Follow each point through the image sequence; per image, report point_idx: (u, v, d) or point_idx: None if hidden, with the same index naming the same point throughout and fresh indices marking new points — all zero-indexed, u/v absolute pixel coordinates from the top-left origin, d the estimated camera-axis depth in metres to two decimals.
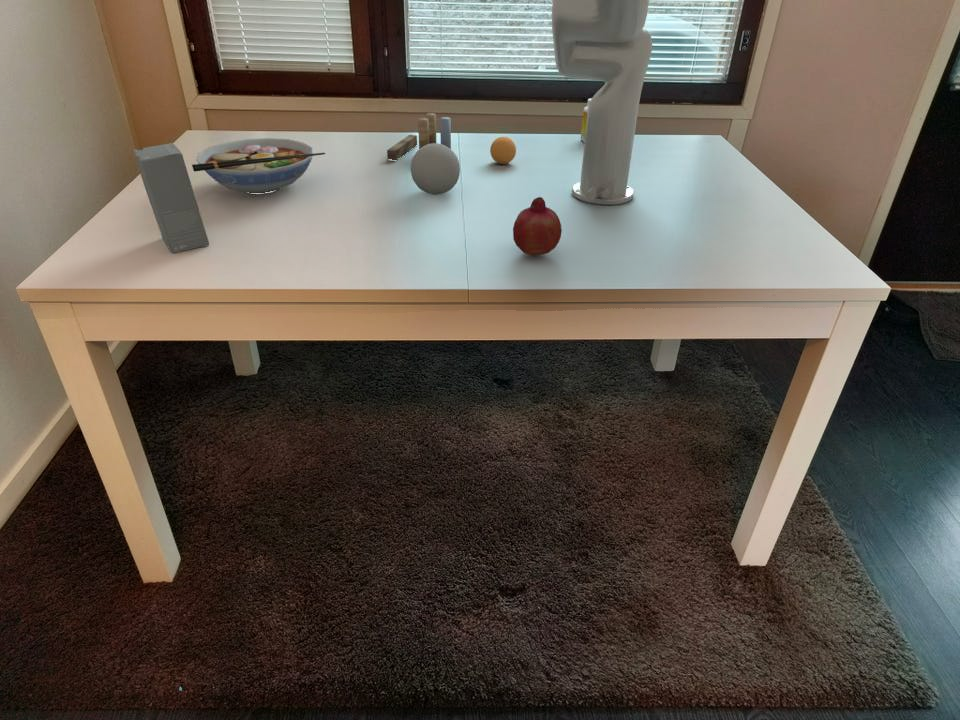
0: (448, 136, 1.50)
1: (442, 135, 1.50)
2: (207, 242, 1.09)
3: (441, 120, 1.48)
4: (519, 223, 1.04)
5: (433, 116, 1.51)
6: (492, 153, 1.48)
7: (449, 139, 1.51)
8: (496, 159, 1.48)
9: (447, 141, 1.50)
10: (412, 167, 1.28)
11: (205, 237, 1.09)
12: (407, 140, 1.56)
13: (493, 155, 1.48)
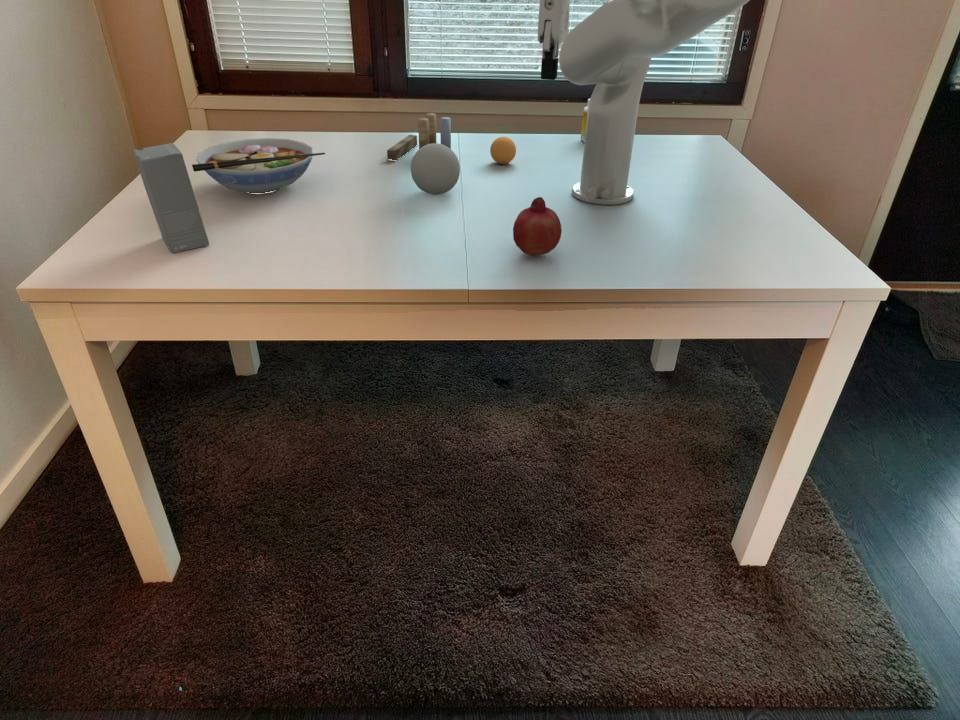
0: (448, 136, 1.50)
1: (442, 135, 1.50)
2: (207, 242, 1.09)
3: (441, 120, 1.48)
4: (519, 223, 1.04)
5: (433, 116, 1.51)
6: (492, 153, 1.48)
7: (449, 139, 1.51)
8: (496, 159, 1.48)
9: (447, 141, 1.50)
10: (412, 167, 1.28)
11: (205, 237, 1.09)
12: (407, 140, 1.56)
13: (493, 155, 1.48)
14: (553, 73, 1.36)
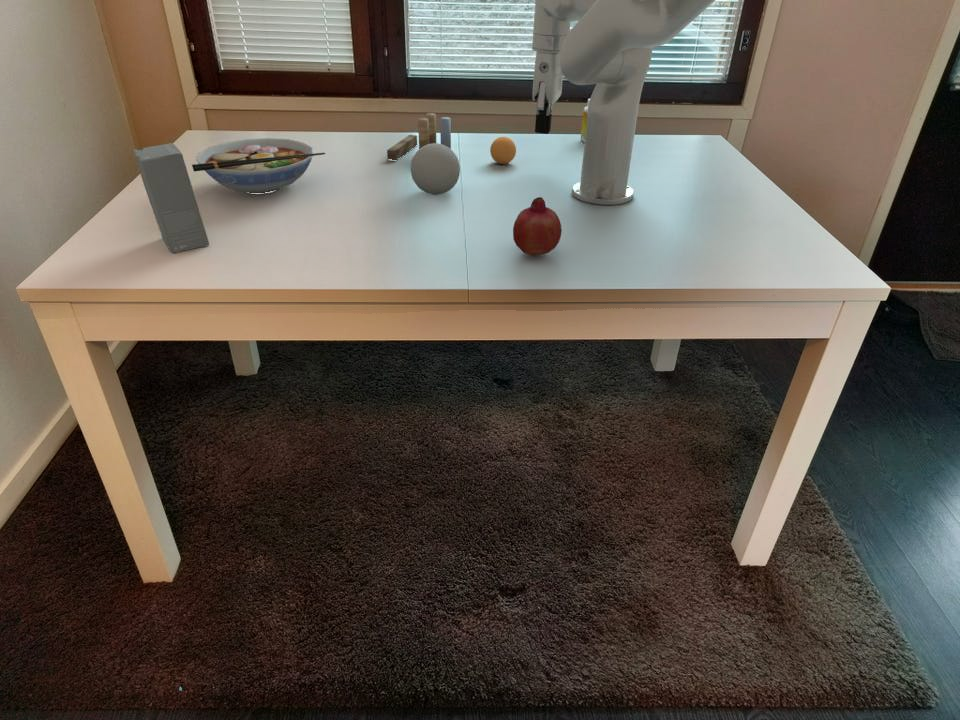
0: (448, 136, 1.50)
1: (442, 135, 1.50)
2: (207, 242, 1.09)
3: (441, 120, 1.48)
4: (519, 223, 1.04)
5: (433, 116, 1.51)
6: (492, 153, 1.48)
7: (449, 139, 1.51)
8: (496, 159, 1.48)
9: (447, 141, 1.50)
10: (412, 167, 1.28)
11: (205, 237, 1.09)
12: (407, 140, 1.56)
13: (493, 155, 1.48)
14: (547, 128, 1.43)
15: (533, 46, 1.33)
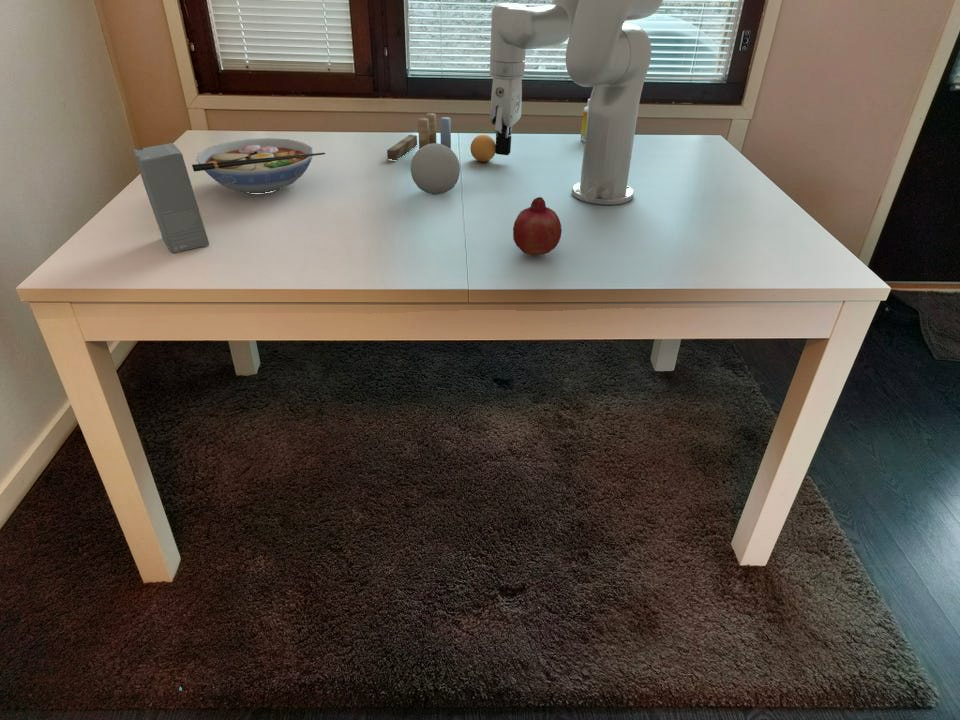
0: (448, 136, 1.50)
1: (442, 135, 1.50)
2: (207, 242, 1.09)
3: (441, 120, 1.48)
4: (519, 223, 1.04)
5: (433, 116, 1.51)
6: (479, 159, 1.49)
7: (449, 139, 1.51)
8: (485, 157, 1.48)
9: (447, 141, 1.50)
10: (412, 167, 1.28)
11: (205, 237, 1.09)
12: (407, 140, 1.56)
13: (481, 158, 1.49)
14: (506, 149, 1.48)
15: (490, 72, 1.39)
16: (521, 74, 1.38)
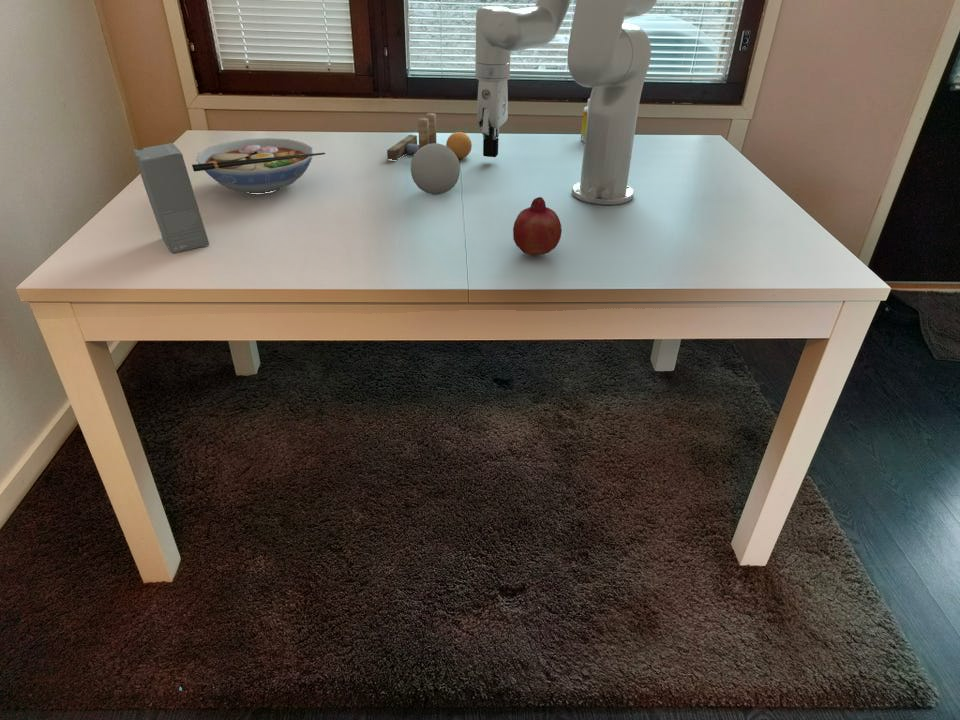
0: None
1: None
2: (207, 242, 1.09)
3: (407, 152, 1.55)
4: (519, 223, 1.04)
5: (433, 116, 1.51)
6: (463, 145, 1.49)
7: None
8: (458, 140, 1.49)
9: None
10: (412, 167, 1.28)
11: (205, 237, 1.09)
12: (407, 140, 1.56)
13: (461, 144, 1.49)
14: (494, 151, 1.49)
15: (476, 75, 1.40)
16: (506, 76, 1.39)
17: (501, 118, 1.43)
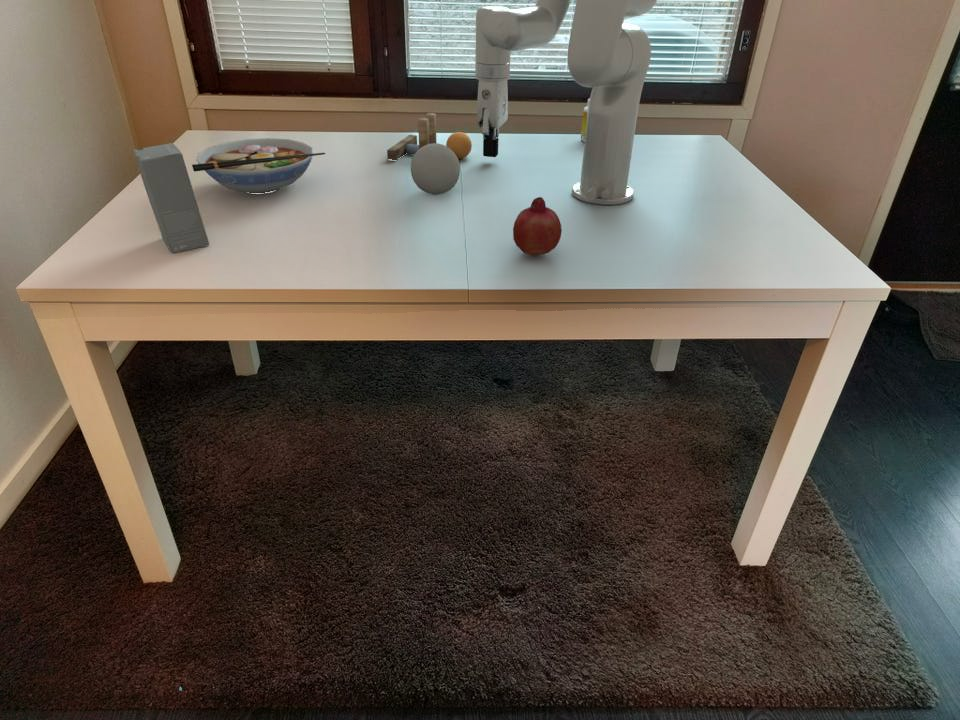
0: None
1: None
2: (207, 242, 1.09)
3: (407, 153, 1.55)
4: (519, 223, 1.04)
5: (433, 116, 1.51)
6: (463, 145, 1.49)
7: None
8: (458, 140, 1.49)
9: None
10: (412, 167, 1.28)
11: (205, 237, 1.09)
12: (407, 140, 1.56)
13: (461, 144, 1.49)
14: (494, 151, 1.49)
15: (476, 75, 1.40)
16: (506, 76, 1.39)
17: (501, 118, 1.43)
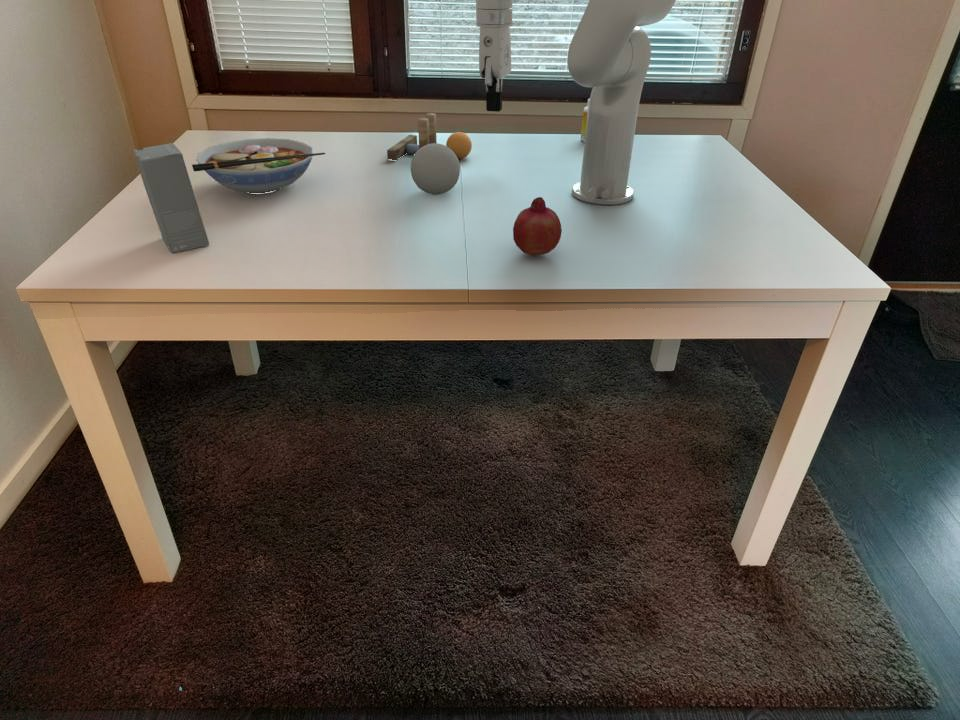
0: None
1: None
2: (207, 242, 1.09)
3: (407, 152, 1.55)
4: (519, 223, 1.04)
5: (433, 116, 1.51)
6: (463, 145, 1.49)
7: None
8: (458, 140, 1.49)
9: None
10: (412, 167, 1.28)
11: (205, 237, 1.09)
12: (407, 140, 1.56)
13: (461, 144, 1.49)
14: (498, 105, 1.43)
15: (477, 22, 1.34)
16: (509, 22, 1.33)
17: (504, 68, 1.37)
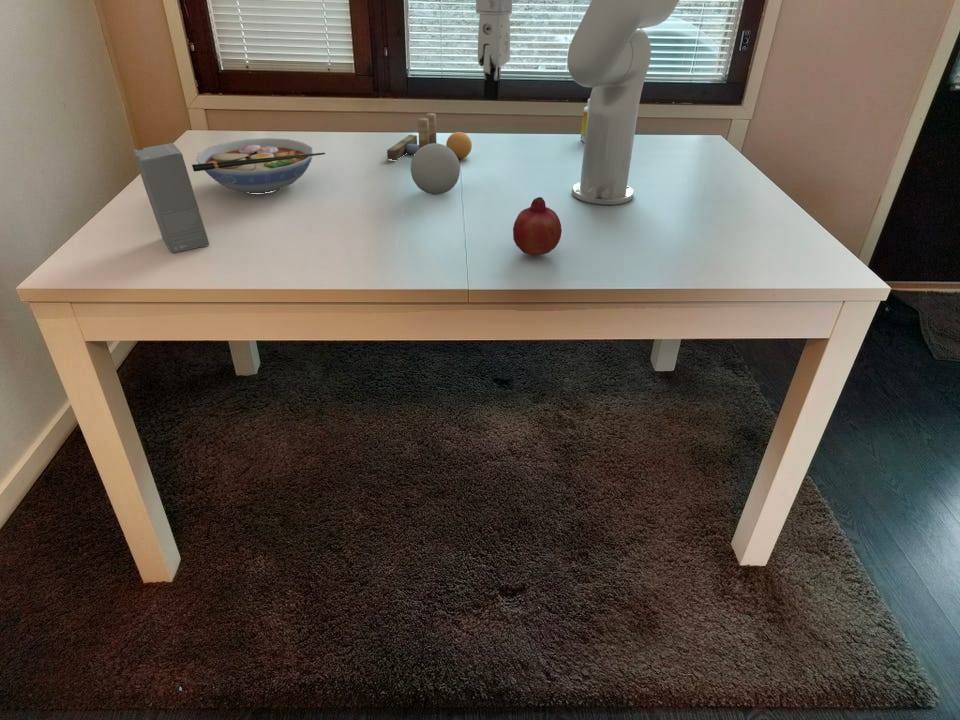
0: None
1: None
2: (207, 242, 1.09)
3: (407, 152, 1.55)
4: (519, 223, 1.04)
5: (433, 116, 1.51)
6: (463, 145, 1.49)
7: None
8: (458, 140, 1.49)
9: None
10: (412, 167, 1.28)
11: (205, 237, 1.09)
12: (407, 140, 1.56)
13: (461, 144, 1.49)
14: (495, 93, 1.42)
15: (476, 9, 1.32)
16: (509, 10, 1.32)
17: (503, 56, 1.36)
